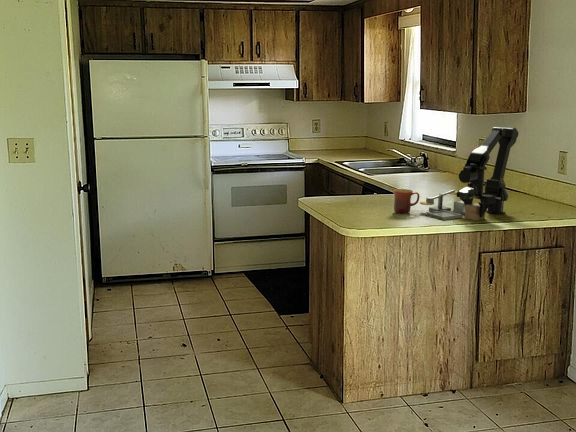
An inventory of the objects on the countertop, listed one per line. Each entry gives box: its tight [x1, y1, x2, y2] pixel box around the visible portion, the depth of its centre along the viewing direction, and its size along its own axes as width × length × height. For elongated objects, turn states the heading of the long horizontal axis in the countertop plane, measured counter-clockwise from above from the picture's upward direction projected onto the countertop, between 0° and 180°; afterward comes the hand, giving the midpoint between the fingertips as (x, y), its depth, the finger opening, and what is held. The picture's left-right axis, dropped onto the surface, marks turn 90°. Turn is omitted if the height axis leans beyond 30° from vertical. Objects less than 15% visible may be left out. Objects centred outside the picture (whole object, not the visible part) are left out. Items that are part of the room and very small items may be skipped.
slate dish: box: [425, 210, 463, 221], centre depth 311 cm, size 11×11×1 cm
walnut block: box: [464, 202, 486, 221], centre depth 309 cm, size 6×6×6 cm
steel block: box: [452, 199, 465, 215], centre depth 321 cm, size 5×5×5 cm
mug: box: [392, 188, 421, 215], centre depth 318 cm, size 12×9×10 cm
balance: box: [419, 189, 458, 212], centre depth 323 cm, size 22×6×9 cm, turn 120°
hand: (474, 215), depth 309 cm, fingers open, 7 cm apart
